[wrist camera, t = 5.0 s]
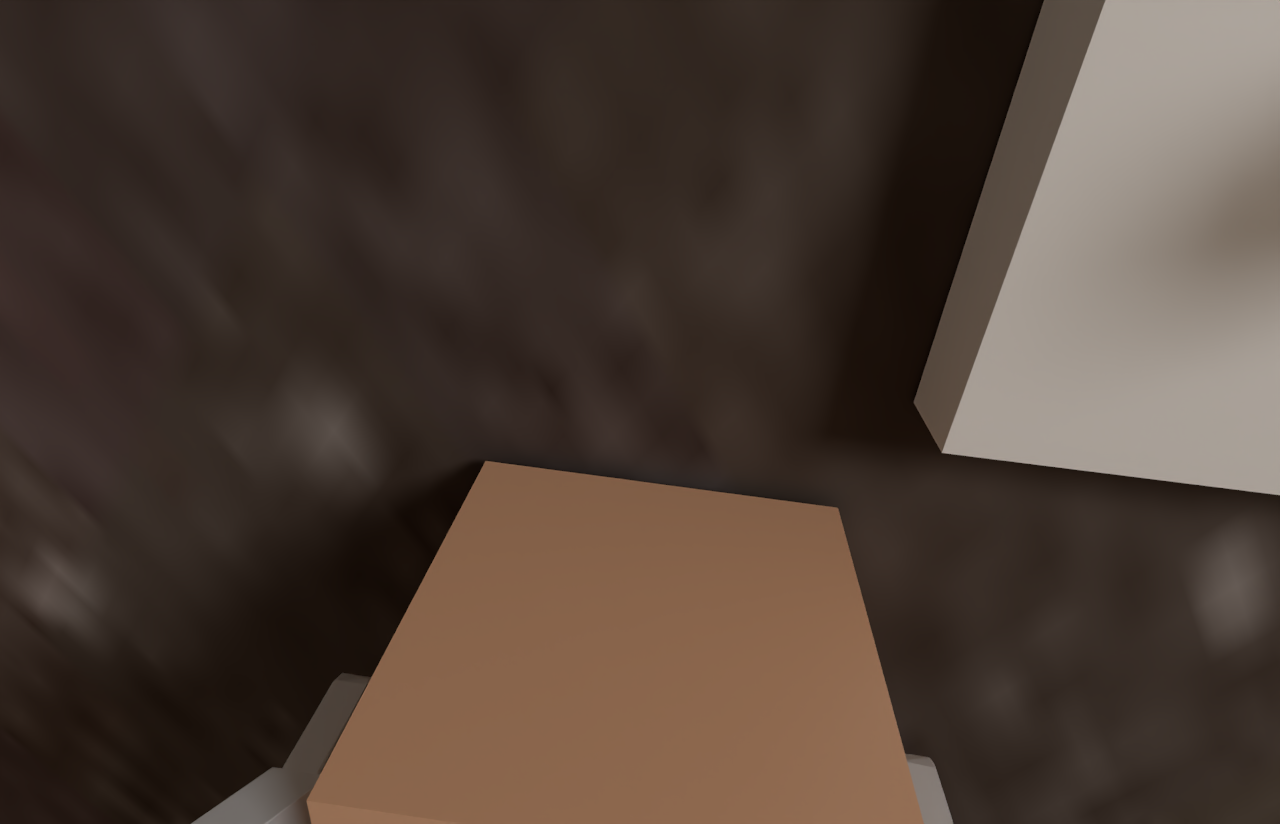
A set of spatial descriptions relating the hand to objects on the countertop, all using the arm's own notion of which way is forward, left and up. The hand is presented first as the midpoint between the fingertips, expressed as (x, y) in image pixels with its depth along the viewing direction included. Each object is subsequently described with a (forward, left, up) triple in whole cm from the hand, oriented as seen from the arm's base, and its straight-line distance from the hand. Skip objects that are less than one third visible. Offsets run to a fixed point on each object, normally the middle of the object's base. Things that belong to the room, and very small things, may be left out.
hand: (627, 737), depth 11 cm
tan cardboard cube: (0, 0, -3) cm, 3 cm away
